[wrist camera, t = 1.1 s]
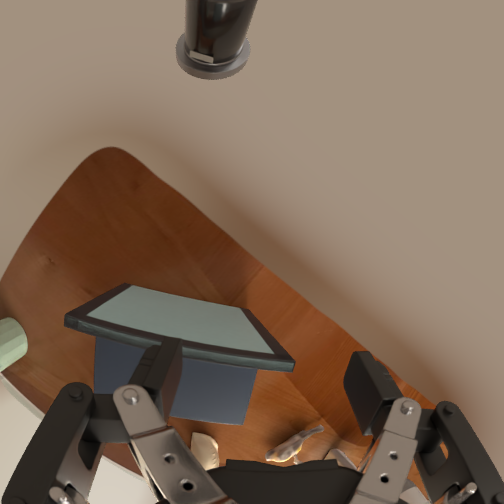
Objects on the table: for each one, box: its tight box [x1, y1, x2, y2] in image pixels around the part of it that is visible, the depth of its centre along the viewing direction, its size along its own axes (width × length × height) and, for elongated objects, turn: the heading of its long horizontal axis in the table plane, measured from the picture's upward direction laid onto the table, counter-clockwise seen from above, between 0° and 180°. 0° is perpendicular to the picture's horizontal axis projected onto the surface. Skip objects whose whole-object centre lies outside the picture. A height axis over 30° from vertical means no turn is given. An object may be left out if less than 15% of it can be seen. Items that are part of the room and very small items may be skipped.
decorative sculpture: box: [265, 425, 357, 470], centre depth 35 cm, size 16×10×7 cm, turn 48°
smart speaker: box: [399, 479, 429, 504], centre depth 37 cm, size 10×9×14 cm
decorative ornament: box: [191, 432, 219, 470], centre depth 32 cm, size 4×8×5 cm, turn 169°
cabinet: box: [94, 337, 258, 425], centre depth 29 cm, size 10×16×10 cm, turn 77°
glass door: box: [64, 283, 296, 372], centre depth 25 cm, size 1×16×18 cm, turn 77°
